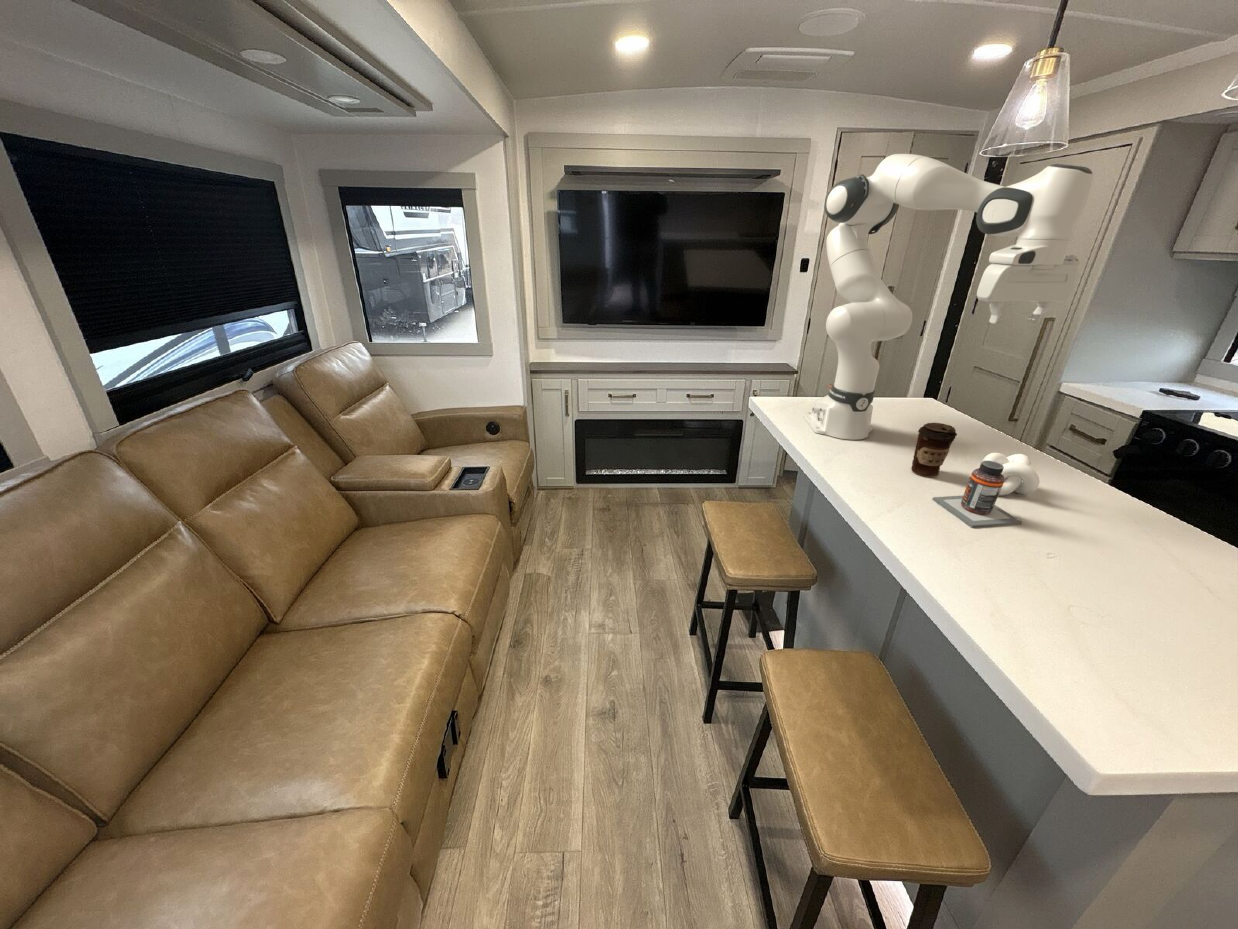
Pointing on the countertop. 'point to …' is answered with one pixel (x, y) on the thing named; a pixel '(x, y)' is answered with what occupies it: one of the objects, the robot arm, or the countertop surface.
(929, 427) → the coffee cup
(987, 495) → the supplement bottle
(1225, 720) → the countertop surface
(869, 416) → the robot arm
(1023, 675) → the countertop surface
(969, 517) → the coaster
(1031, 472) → the white decorative knot
